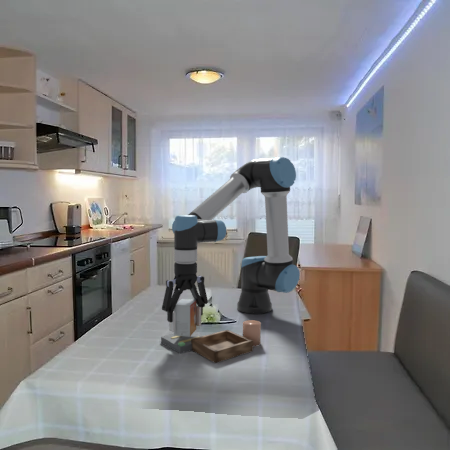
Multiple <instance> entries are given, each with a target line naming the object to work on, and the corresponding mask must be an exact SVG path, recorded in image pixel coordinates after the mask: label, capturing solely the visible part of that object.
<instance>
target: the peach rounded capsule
mask: <svg viewBox="0 0 450 450" xmlns="http://www.w3.org/2000/svg"><path fill="white" fill-rule="evenodd" d="M261 325H262V323H261V322H260V321H259V320H255V319H254V320H253V319H250V320H244V321H243V322H242V336H243V337H246V338H248V339H250V340H253V347H259V346H260V345H261V332H262V331H261V328H262V326H261Z"/></svg>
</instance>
